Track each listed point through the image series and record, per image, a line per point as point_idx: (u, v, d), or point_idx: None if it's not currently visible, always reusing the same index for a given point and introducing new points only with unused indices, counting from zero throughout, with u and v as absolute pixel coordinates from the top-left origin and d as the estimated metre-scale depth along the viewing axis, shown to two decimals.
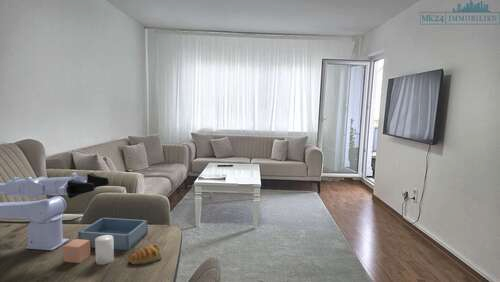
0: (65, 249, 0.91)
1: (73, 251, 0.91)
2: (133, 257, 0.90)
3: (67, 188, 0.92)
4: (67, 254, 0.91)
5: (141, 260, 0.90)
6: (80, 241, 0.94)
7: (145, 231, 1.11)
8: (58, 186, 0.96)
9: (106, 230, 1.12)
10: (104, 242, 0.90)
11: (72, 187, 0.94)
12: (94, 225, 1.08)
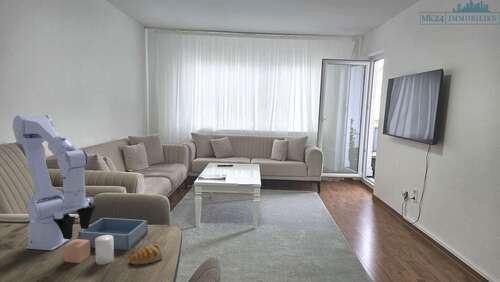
0: (65, 249, 0.91)
1: (73, 251, 0.91)
2: (134, 257, 0.90)
3: (62, 218, 0.86)
4: (67, 254, 0.91)
5: (142, 261, 0.90)
6: (80, 241, 0.94)
7: (145, 231, 1.11)
8: (69, 195, 0.88)
9: (106, 230, 1.12)
10: (104, 242, 0.90)
11: None
12: (94, 225, 1.08)
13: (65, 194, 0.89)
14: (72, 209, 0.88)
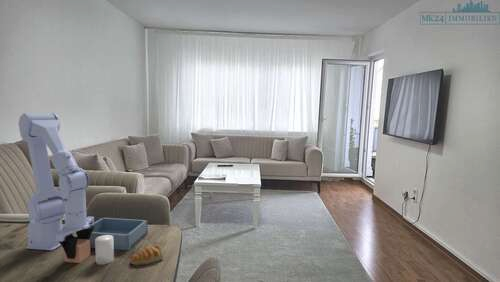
0: None
1: None
2: (135, 258, 0.90)
3: (66, 239, 0.88)
4: None
5: (143, 261, 0.90)
6: (80, 241, 0.94)
7: (145, 231, 1.11)
8: (70, 217, 0.89)
9: (106, 230, 1.12)
10: (104, 242, 0.90)
11: None
12: (94, 225, 1.08)
13: (66, 216, 0.89)
14: (73, 231, 0.89)
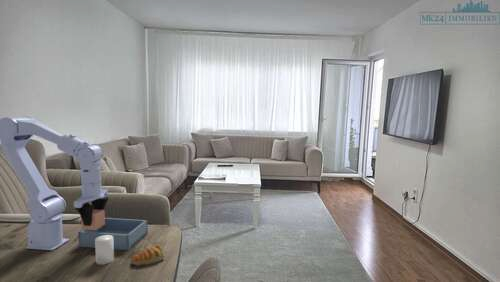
0: None
1: None
2: (136, 258, 0.90)
3: (83, 206, 0.95)
4: None
5: (144, 261, 0.90)
6: (96, 210, 1.01)
7: (145, 231, 1.11)
8: (87, 187, 0.96)
9: (106, 230, 1.12)
10: (104, 242, 0.90)
11: None
12: None
13: (83, 185, 0.97)
14: (89, 199, 0.96)
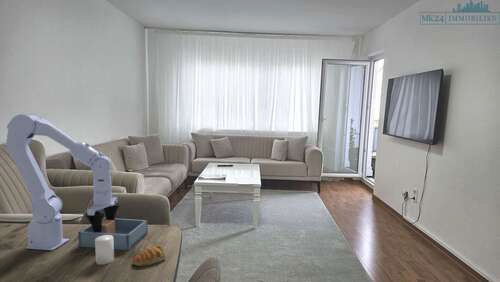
0: None
1: (101, 229, 1.04)
2: (137, 259, 0.89)
3: (93, 215, 1.00)
4: None
5: (146, 262, 0.90)
6: (106, 221, 1.08)
7: (145, 231, 1.11)
8: (99, 195, 1.03)
9: None
10: (104, 242, 0.90)
11: None
12: None
13: (95, 194, 1.03)
14: (101, 207, 1.02)
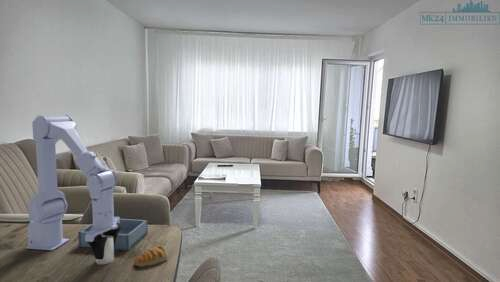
0: None
1: None
2: (139, 260, 0.89)
3: (95, 239, 0.86)
4: None
5: (148, 263, 0.89)
6: None
7: (145, 231, 1.11)
8: (99, 217, 0.88)
9: None
10: None
11: None
12: None
13: (95, 216, 0.88)
14: (102, 231, 0.88)
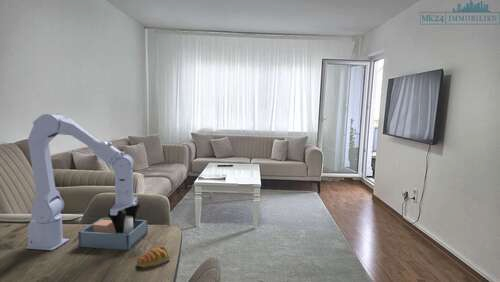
0: (94, 227, 1.05)
1: (101, 229, 1.04)
2: (142, 260, 0.89)
3: (116, 215, 0.99)
4: None
5: (151, 263, 0.89)
6: (106, 221, 1.08)
7: (145, 231, 1.11)
8: (121, 195, 1.02)
9: None
10: (125, 221, 1.03)
11: None
12: None
13: (117, 194, 1.02)
14: (124, 207, 1.01)
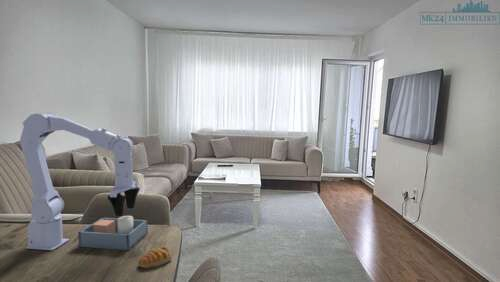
0: (94, 227, 1.05)
1: (101, 229, 1.04)
2: (144, 261, 0.88)
3: (116, 197, 0.98)
4: None
5: (153, 264, 0.89)
6: (106, 221, 1.08)
7: (145, 231, 1.11)
8: (120, 177, 1.01)
9: None
10: (126, 221, 1.03)
11: None
12: None
13: (117, 176, 1.01)
14: (123, 189, 1.01)
